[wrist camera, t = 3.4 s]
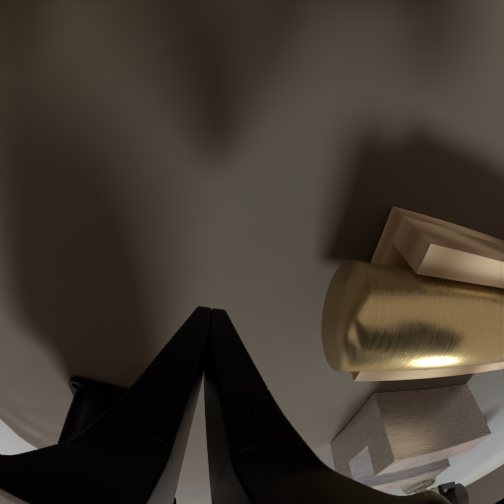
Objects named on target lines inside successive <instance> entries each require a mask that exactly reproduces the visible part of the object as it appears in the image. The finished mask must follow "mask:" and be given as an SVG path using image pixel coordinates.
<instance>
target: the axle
mask: <svg viewBox="0 0 504 504" xmlns="http://www.w3.org/2000/svg"><path fill="white" fill-rule="evenodd" d="M322 344H323V350H324V354H325V357H326V360H327V362H328V364H329V365H330V366H331V367H332V369H334V370H336V371H349V372H378V371H412V370H430V369H444V368H456V367H467V366H476V365H484V364H492V363H499V362H504V288H499V287H493V286H487V285H481V284H474V283H468V282H462V281H456V280H450V279H444V278H438V277H432V276H426V275H419V274H416V273H415V271H414V270H410V269H404V268H398V267H392V266H386V265H380V264H374V263H368V262H362V261H356V260H348V261H345V262H344V263H343V264H341V265H340V267H339V268H338V269H337V270H336V272H335V274H334V276H333V278H332V280H331V282H330V285H329V288H328V291H327V294H326V298H325V302H324V308H323V315H322Z"/></svg>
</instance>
